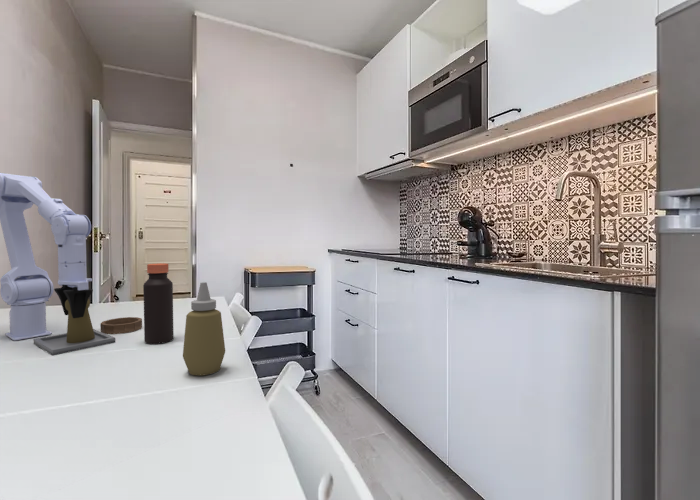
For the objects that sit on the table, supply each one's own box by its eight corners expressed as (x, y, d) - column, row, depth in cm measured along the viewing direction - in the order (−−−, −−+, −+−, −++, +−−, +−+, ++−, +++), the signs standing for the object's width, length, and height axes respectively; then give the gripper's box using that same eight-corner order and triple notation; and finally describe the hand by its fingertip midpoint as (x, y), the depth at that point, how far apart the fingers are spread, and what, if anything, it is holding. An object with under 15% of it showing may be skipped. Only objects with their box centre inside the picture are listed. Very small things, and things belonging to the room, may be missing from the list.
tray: (33, 343, 94) (33, 338, 94) (92, 332, 104) (92, 328, 104) (52, 355, 85) (52, 350, 85) (115, 342, 95) (115, 337, 95)
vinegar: (152, 346, 92) (150, 265, 91) (139, 341, 96) (138, 264, 95) (178, 340, 98) (177, 264, 97) (165, 335, 102) (164, 262, 101)
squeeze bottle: (190, 364, 79) (189, 280, 78) (229, 363, 80) (228, 280, 79) (176, 379, 71) (174, 285, 70) (219, 378, 72) (218, 285, 71)
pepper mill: (81, 343, 92) (77, 299, 91) (60, 342, 93) (55, 299, 92) (100, 335, 98) (97, 294, 97) (80, 335, 99) (76, 294, 98)
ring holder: (95, 330, 107) (95, 321, 107) (132, 323, 115) (132, 315, 115) (109, 336, 101) (109, 327, 101) (147, 328, 109) (147, 320, 109)
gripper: (102, 262, 93) (103, 316, 93) (80, 260, 101) (82, 309, 102) (67, 264, 87) (69, 322, 88) (48, 261, 96) (50, 314, 96)
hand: (74, 316), depth 94 cm, fingers closed on pepper mill, 5 cm apart
